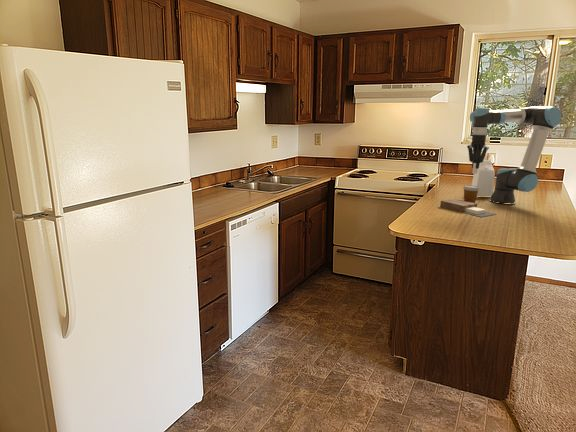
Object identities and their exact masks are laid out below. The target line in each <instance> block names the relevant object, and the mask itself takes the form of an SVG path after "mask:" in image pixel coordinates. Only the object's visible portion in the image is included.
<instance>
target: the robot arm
mask: <svg viewBox="0 0 576 432" xmlns="http://www.w3.org/2000/svg"><path fill="white" fill-rule="evenodd" d="M469 120H470V122H471V123H472V124H473V127H472V128H473V129H472V136H471V143H470V144H469V145H467V146H466V148H467V150H468V160H469V162H471V163H472V164H471V168H472V174H473V175H474V174H477V170H478V168H479V164H480V163H481V162H483V160H485V157H486V154H487V152H488V150H489V149H490V146H488V145H486V140H487V135H486V134H487V131H488V125H503V124H504V123H516V124H525V125H531V127H532V129H533V131H532V133H531V136H530V139H529V142H528V144H527V147H526V150H525V153H524V154H523V158H522V161H521V163H520V165H519V166H518V167H517V168H499V169H498V170H497V173H496V177H495V178H496V179H495V183H494V186H495V187H494V189H493V194H492V196H491V198H489V201H490V200H491V201H494V202H499V203H514V202H515V203H516V197H515V190H516V191H519V192H522V193H523V192H525V193H528V192H529V193H530V192H532V191H533V190H535V188H536V187H537V186H538V184H539V177H538V175H537V173H538V172H537V170H536V169H537V166H538V163H539V160H540V157H541V154H542V152H543V150H544V146H545V144H546V141H547V139H548V135H549V133H550V132H551V131H553V129H554V127H557V126H558V125H559V124H560V123H561V120H562V112H561V110H560V108H558V107H557V106H551V105H547V106H546V105H545V106H541V105H540V106H539V105H537V106H535V105H534V106H529V107H519V108H516V109H501V110H500V109H497V110H490V107H477V108H476V109H475V110H474V111H472V112H471V113H470V114H469ZM491 201H490V202H491Z"/></svg>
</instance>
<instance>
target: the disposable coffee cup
mask: <svg viewBox="0 0 576 432" xmlns="http://www.w3.org/2000/svg"><path fill="white" fill-rule="evenodd" d="M478 191H479V187H477V186H472V184H471V185H469V184H467V185H464V187H463V201H467V202H472V203H476V200H477V198H478V197H477V193H478Z"/></svg>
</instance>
